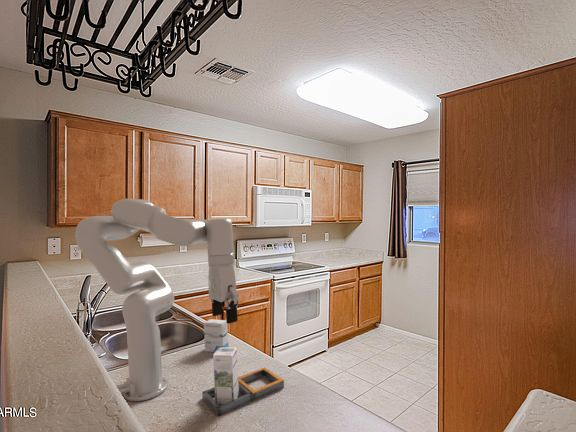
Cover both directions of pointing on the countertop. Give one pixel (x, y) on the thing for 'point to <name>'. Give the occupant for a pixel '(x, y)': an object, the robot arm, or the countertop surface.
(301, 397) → the countertop surface
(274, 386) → the grey flat frame
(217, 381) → the syrup box
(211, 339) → the ink box
